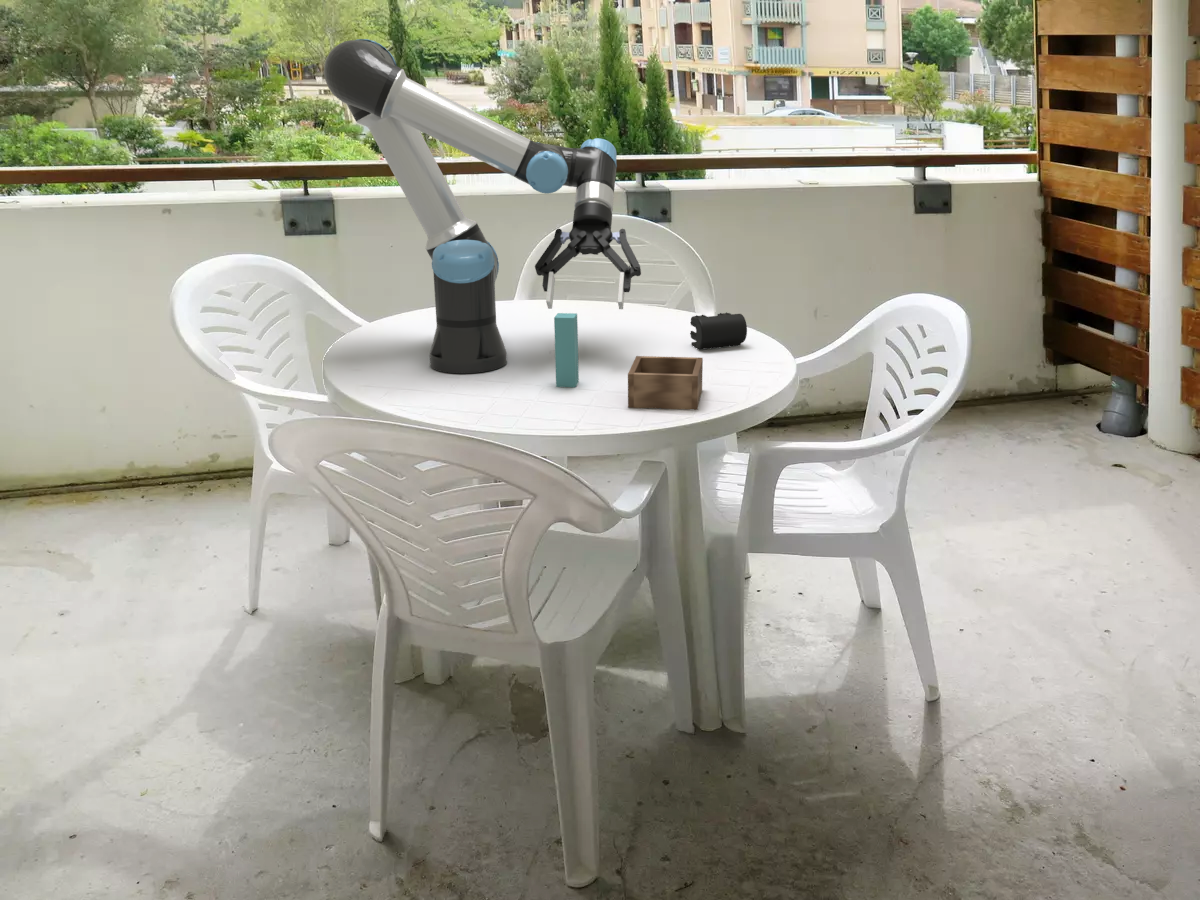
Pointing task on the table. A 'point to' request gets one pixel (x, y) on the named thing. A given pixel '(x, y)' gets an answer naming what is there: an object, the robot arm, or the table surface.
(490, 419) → the table surface
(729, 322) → the end cap
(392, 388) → the table surface
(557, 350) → the peg
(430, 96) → the robot arm
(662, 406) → the box
